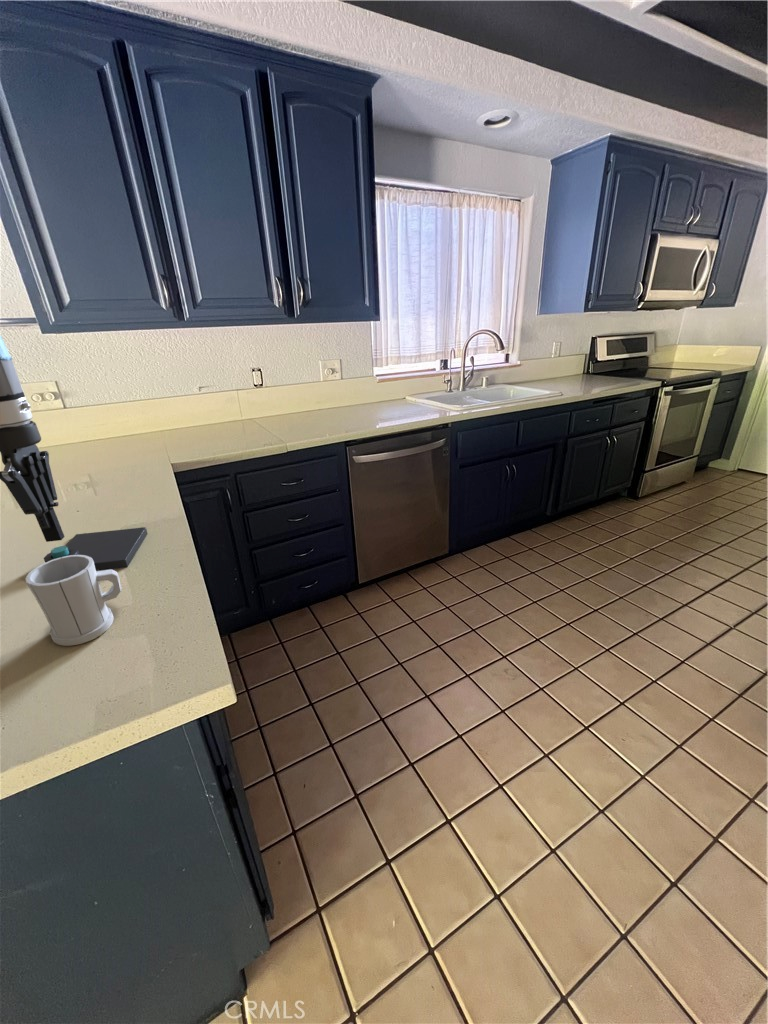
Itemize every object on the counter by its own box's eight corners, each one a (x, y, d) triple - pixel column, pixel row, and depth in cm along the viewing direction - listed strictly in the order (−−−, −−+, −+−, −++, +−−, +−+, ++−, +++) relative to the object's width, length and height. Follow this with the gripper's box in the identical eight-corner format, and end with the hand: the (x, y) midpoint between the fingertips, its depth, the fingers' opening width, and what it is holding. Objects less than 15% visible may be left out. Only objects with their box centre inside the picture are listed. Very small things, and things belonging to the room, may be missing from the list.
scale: (44, 578, 86) (38, 563, 84) (77, 541, 99) (72, 528, 98) (127, 568, 89) (122, 553, 87) (147, 534, 102) (144, 520, 101)
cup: (99, 602, 79) (78, 545, 73) (135, 613, 75) (116, 555, 70) (40, 639, 70) (11, 578, 65) (78, 653, 67) (51, 591, 62)
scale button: (50, 560, 86) (47, 553, 85) (57, 553, 89) (54, 546, 88) (66, 558, 87) (63, 551, 86) (72, 551, 89) (69, 545, 88)
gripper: (11, 431, 71) (61, 553, 81) (49, 414, 82) (89, 522, 92) (-41, 434, 69) (16, 558, 80) (5, 416, 81) (50, 526, 91)
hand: (55, 539), depth 86 cm, fingers closed
